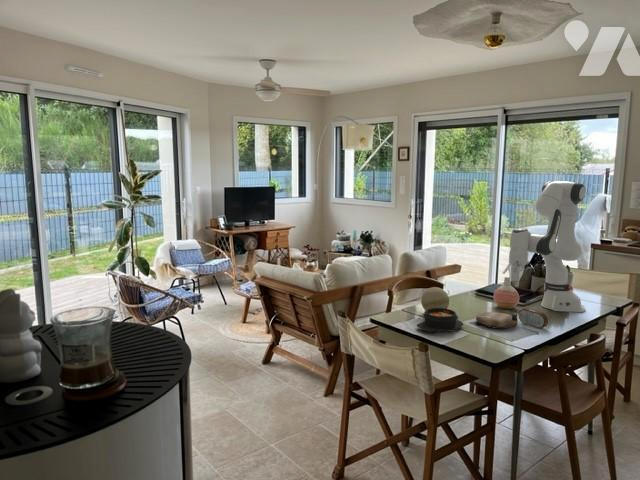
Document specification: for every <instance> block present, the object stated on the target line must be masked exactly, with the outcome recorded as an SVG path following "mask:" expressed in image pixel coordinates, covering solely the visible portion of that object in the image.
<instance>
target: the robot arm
mask: <svg viewBox="0 0 640 480" xmlns="http://www.w3.org/2000/svg"><path fill="white" fill-rule="evenodd" d="M586 190H587V189H586V187H585V185H584V184H583V183H581V182H573V181H566V180H564V181H555V180H552V181H551V180H550V181H546V182H545V183H543V185H542V187H541V193H540V195H539V196H538V198H537V201H536V203H535V210H536V212H537V214H538V215H539V216H540V217H542V218H544V219H546V220H548V225H547V229H546V232H545V233H544V234H537V233H531V232H529V230H528V228H527V227H526V228H525V227H516V228H514V229H512V230H511V233H510V239H509V254H508V263H509V264H510V266H511V275H510V282H511V281H512V282H514V284H513V285H514V287H516V288H518V287H519V286H520V280H521V278H522V276H523V274H524V271H525V266H526V265H527V264H528V260H529V253H533V254H538V255H541V257H542V260H543V261H544V264H545V281H544V283H543V284H544V285H543V290H544V291H543V293H544V294H543V298H542V301H541V303H540V306H541V307H543V308H545V309H549V310H552V311H553V312H554V311H555V312H569V313H573V312H574V313H585V311H586V308H585V306H584V305H583V304H582V301H581V298H580V296H579V295H577V294H576V293H575V292H574V291H572V290H573V285H571V284H570V283H568V279H569V277H568V276H569V271H568V270H569V269H568V268H567V267H566V266H565V265H564V263H563V261H566V262H572V261H577V260H579V258H580V257H581V256H582V247H581V245H580V244H579V243H578V241H577V238H576V236H575V235H576V234H575V228H576V227H575V226H576V221H577V215H578V208H579V207H578V206H579V205H578V204H579V203H581V202H583V200H584V199H585V197H586V192H587V191H586Z"/></svg>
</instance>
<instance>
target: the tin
mask: <svg viewBox="0 0 640 480" xmlns="http://www.w3.org/2000/svg"><path fill="white" fill-rule="evenodd" d="M517 317H518V319H519V321H520V322H521V323H522V324H524V325H526V326H529V327H534V328H536V329H543V328H545V327H546V328H547V326H548V325H549V319H548V316H547V315H546V314H545V313H544V312H542V311H541V310H540V311H539V310H537V309H533V308H529V307H524V308H521V309H520V310H519V311H518V313H517Z"/></svg>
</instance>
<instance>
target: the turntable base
mask: <svg viewBox="0 0 640 480" xmlns="http://www.w3.org/2000/svg"><path fill="white" fill-rule="evenodd" d="M487 327H488V325H487ZM493 327H494V326H490V327H489V328H493ZM494 329H508V328H507V327H495V328H494Z"/></svg>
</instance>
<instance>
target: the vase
mask: <svg viewBox="0 0 640 480" xmlns="http://www.w3.org/2000/svg"><path fill="white" fill-rule="evenodd" d="M503 279H504V280H503V285H500V286H498V288H496V289H495V291H494V293H493V301H494V303H495V305H497V306H498V308H500V309H502V310H511V309H513V308H515V307H516V306H518V304H519V302H520V295H519V293H518V291H517V290H516V288H514V287H513V286H512V285H511V277H509V276H506V277H505V276H504V278H503Z"/></svg>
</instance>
